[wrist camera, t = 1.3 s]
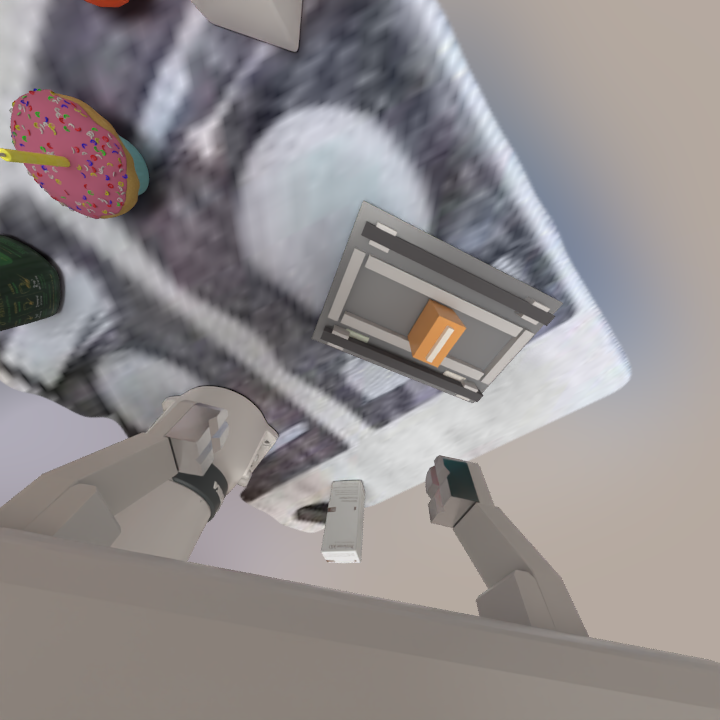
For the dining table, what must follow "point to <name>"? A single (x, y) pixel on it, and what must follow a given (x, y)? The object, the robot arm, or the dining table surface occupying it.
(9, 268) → the coffee jar
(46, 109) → the cupcake
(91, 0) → the clementine
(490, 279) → the panel
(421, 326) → the block
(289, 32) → the medicine bottle
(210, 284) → the dining table surface
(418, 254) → the pair of dark pieces
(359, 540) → the skincare box
